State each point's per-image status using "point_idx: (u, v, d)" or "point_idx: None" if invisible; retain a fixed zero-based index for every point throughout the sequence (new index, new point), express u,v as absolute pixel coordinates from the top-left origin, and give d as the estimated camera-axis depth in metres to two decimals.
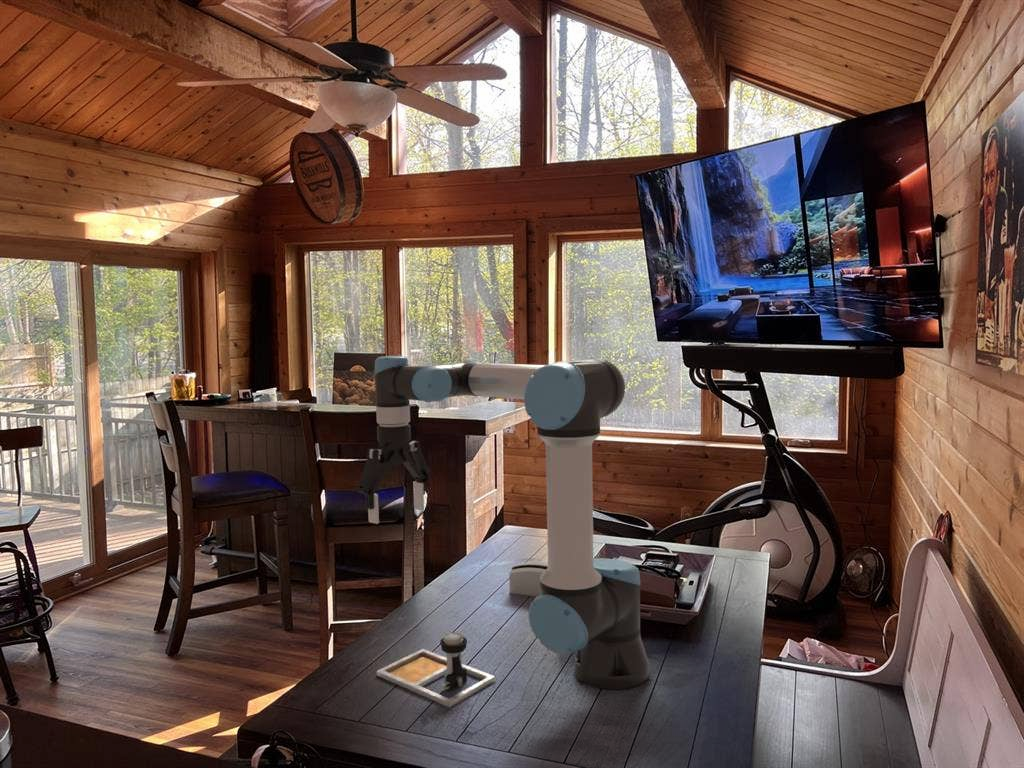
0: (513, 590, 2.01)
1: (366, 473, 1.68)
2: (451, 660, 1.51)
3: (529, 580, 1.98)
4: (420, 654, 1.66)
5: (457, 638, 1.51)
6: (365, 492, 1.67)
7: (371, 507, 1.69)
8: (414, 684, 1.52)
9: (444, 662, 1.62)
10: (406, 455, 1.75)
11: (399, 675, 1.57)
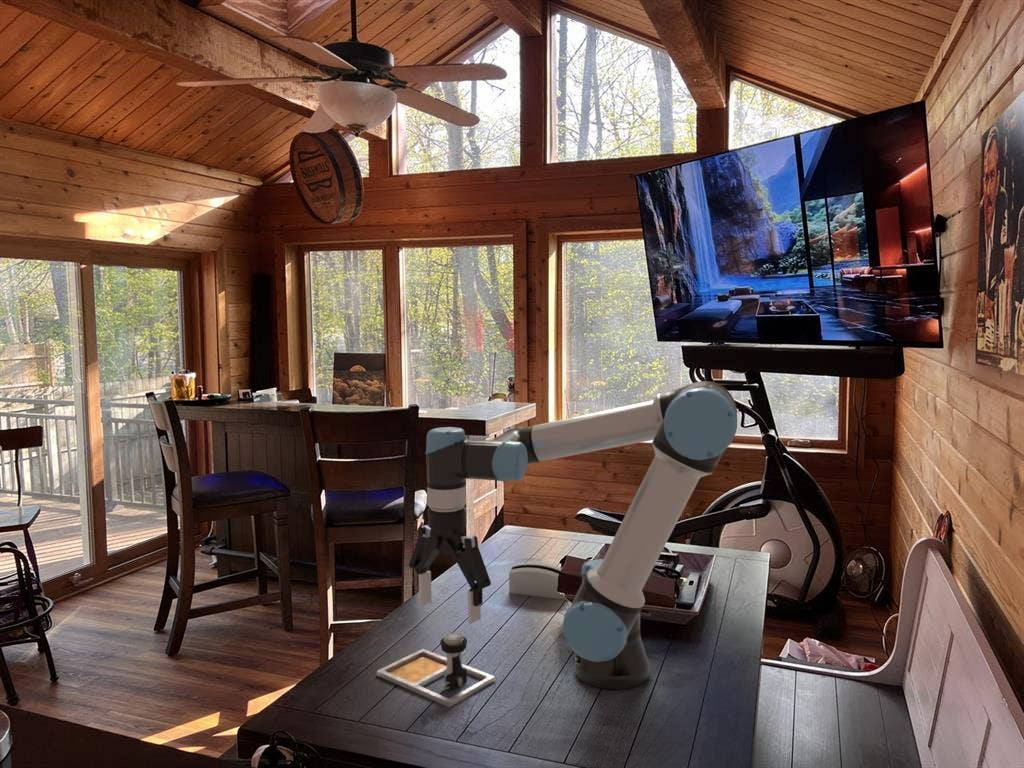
0: (513, 590, 2.01)
1: None
2: (451, 660, 1.51)
3: (528, 580, 1.98)
4: (420, 654, 1.66)
5: (457, 638, 1.51)
6: (410, 566, 1.56)
7: (418, 585, 1.56)
8: (414, 684, 1.52)
9: (444, 662, 1.62)
10: (448, 547, 1.47)
11: (399, 675, 1.57)
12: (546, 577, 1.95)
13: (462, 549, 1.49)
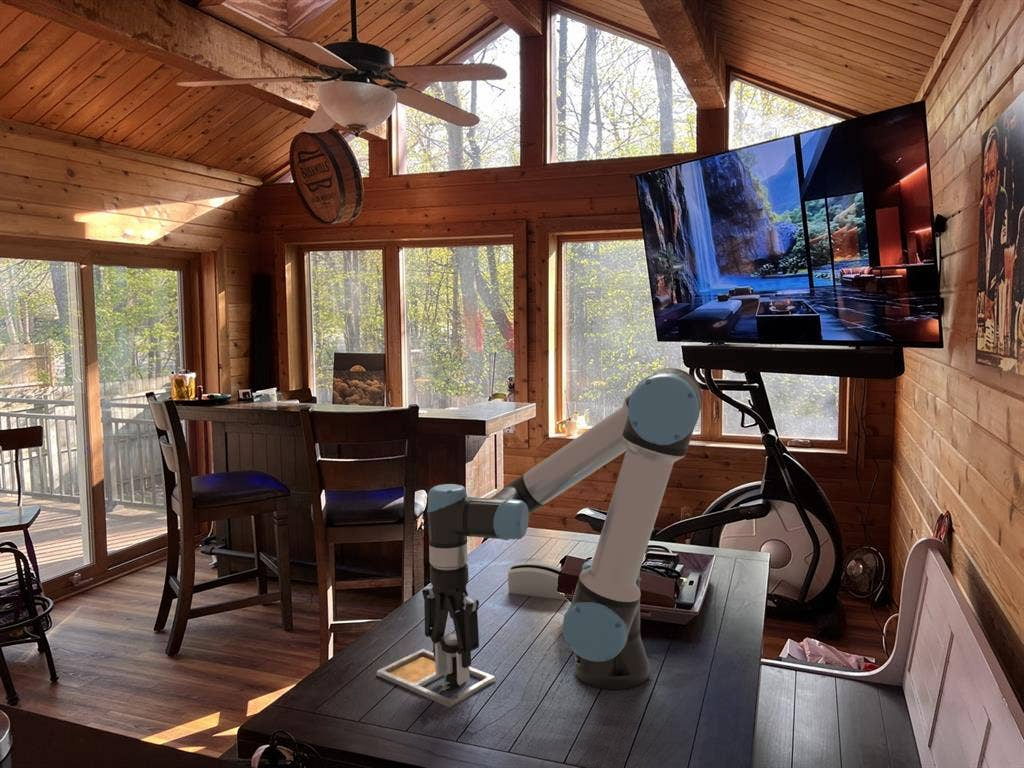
0: (512, 590, 2.01)
1: None
2: (451, 660, 1.51)
3: (527, 580, 1.98)
4: (420, 654, 1.66)
5: None
6: (426, 635, 1.55)
7: (434, 654, 1.54)
8: (414, 684, 1.52)
9: None
10: (450, 604, 1.48)
11: (399, 675, 1.57)
12: (545, 577, 1.95)
13: (461, 607, 1.51)
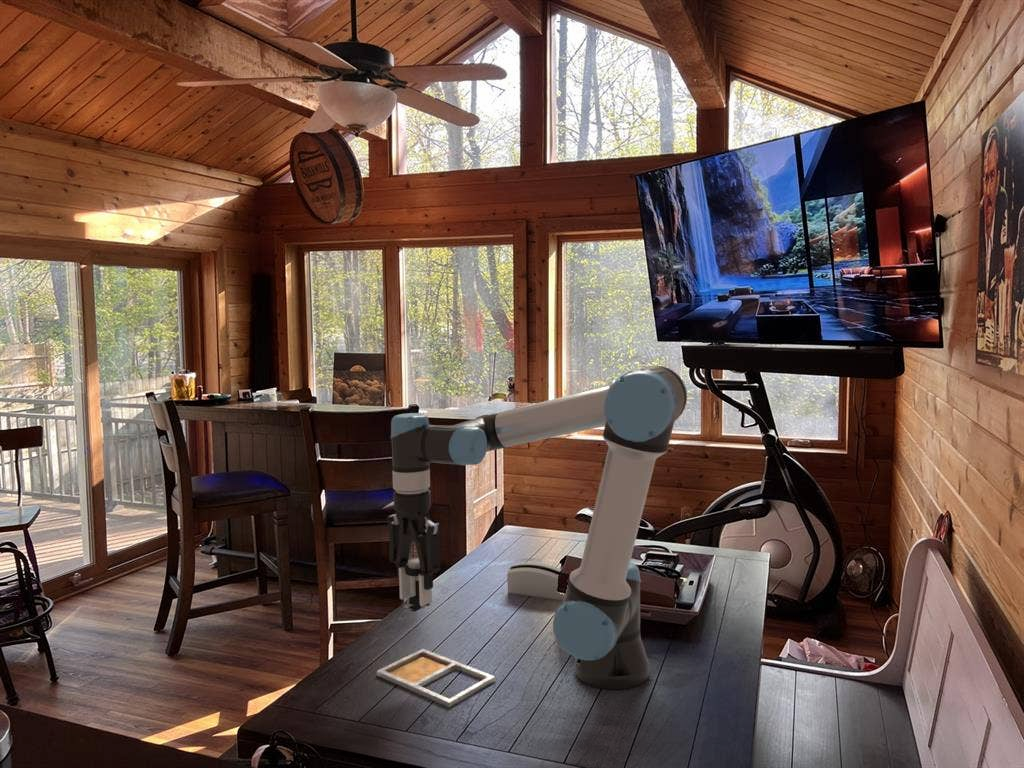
0: (511, 590, 2.01)
1: None
2: (414, 583, 1.57)
3: (526, 580, 1.98)
4: (420, 654, 1.66)
5: None
6: (391, 561, 1.60)
7: (399, 579, 1.59)
8: (414, 684, 1.52)
9: (444, 662, 1.62)
10: (413, 528, 1.54)
11: (399, 675, 1.57)
12: (544, 577, 1.95)
13: (424, 531, 1.56)
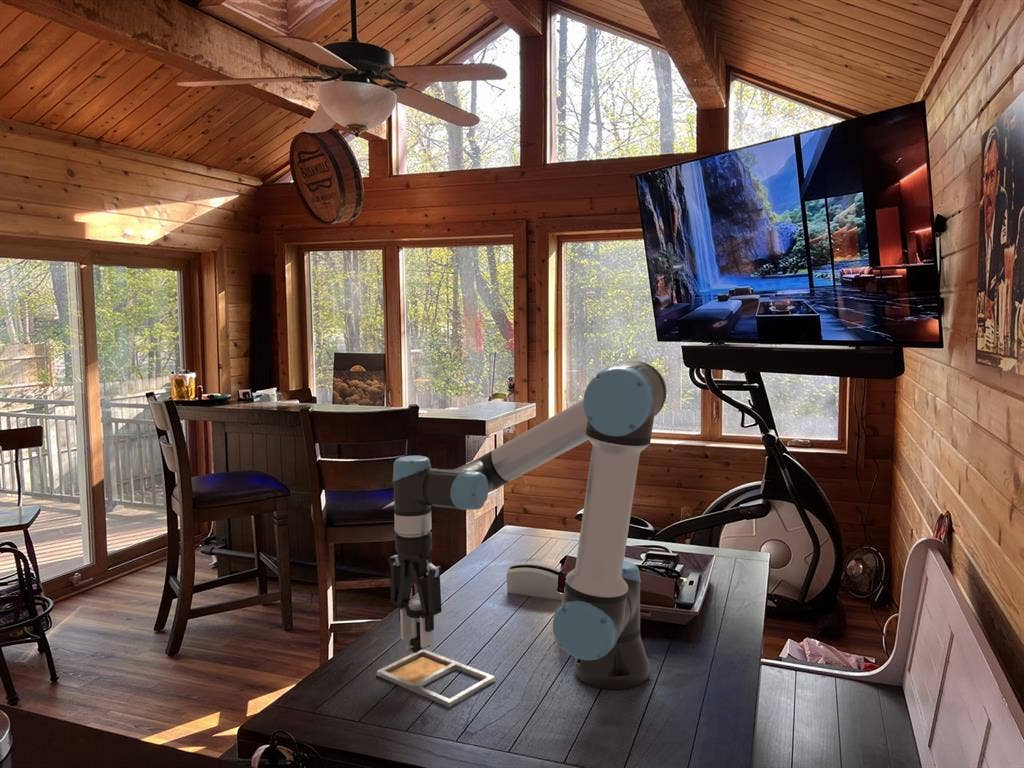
0: (510, 590, 2.01)
1: None
2: (415, 625, 1.57)
3: (526, 580, 1.98)
4: (420, 654, 1.66)
5: None
6: (392, 601, 1.61)
7: (400, 620, 1.60)
8: (414, 684, 1.52)
9: (444, 662, 1.62)
10: (414, 571, 1.54)
11: (399, 675, 1.57)
12: (543, 577, 1.95)
13: (425, 573, 1.57)
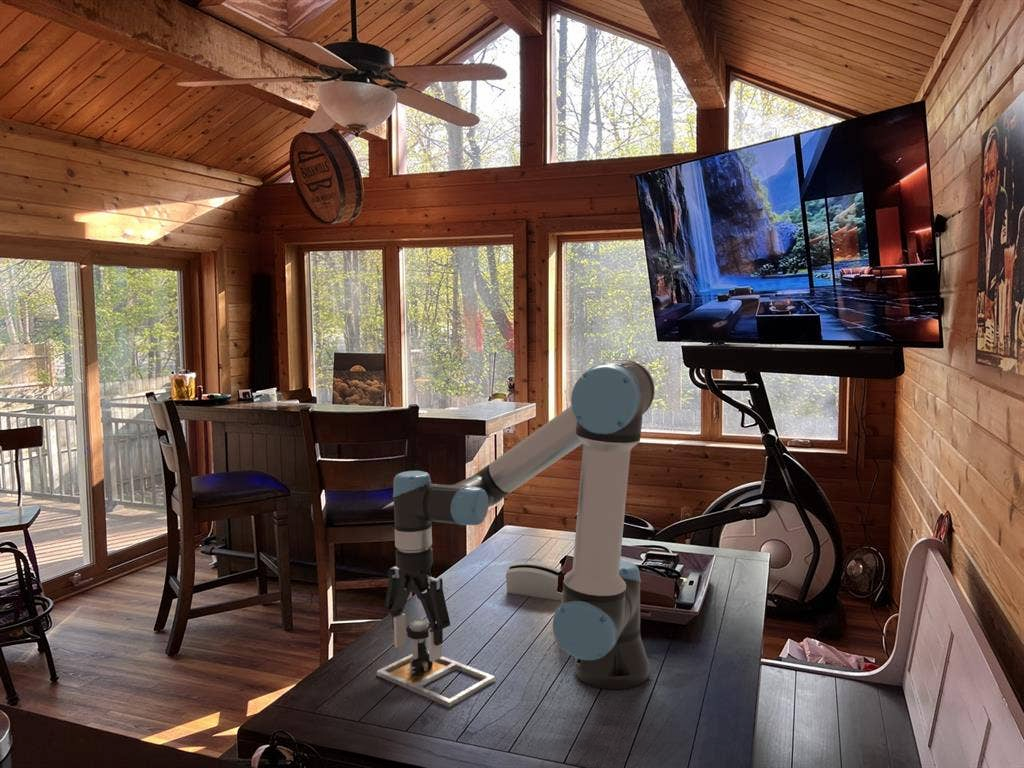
0: (510, 590, 2.02)
1: None
2: (417, 646, 1.58)
3: (525, 580, 1.98)
4: None
5: (422, 624, 1.58)
6: (385, 609, 1.62)
7: (394, 628, 1.62)
8: (414, 684, 1.52)
9: (444, 662, 1.62)
10: (415, 586, 1.55)
11: (399, 675, 1.57)
12: (542, 577, 1.95)
13: (427, 588, 1.57)
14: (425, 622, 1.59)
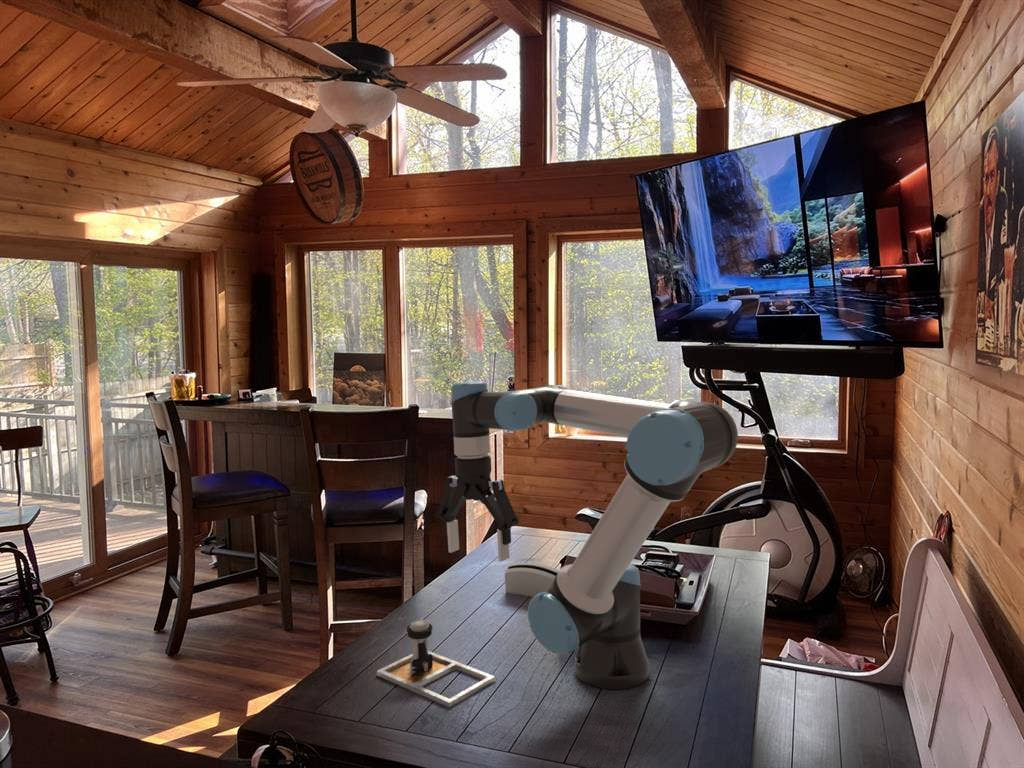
0: (509, 589, 2.02)
1: None
2: (417, 646, 1.58)
3: (523, 580, 1.98)
4: None
5: (422, 624, 1.58)
6: (437, 516, 1.66)
7: (446, 534, 1.65)
8: (414, 684, 1.52)
9: (444, 662, 1.62)
10: (476, 492, 1.58)
11: (399, 675, 1.57)
12: (540, 577, 1.95)
13: (489, 494, 1.60)
14: (426, 622, 1.59)
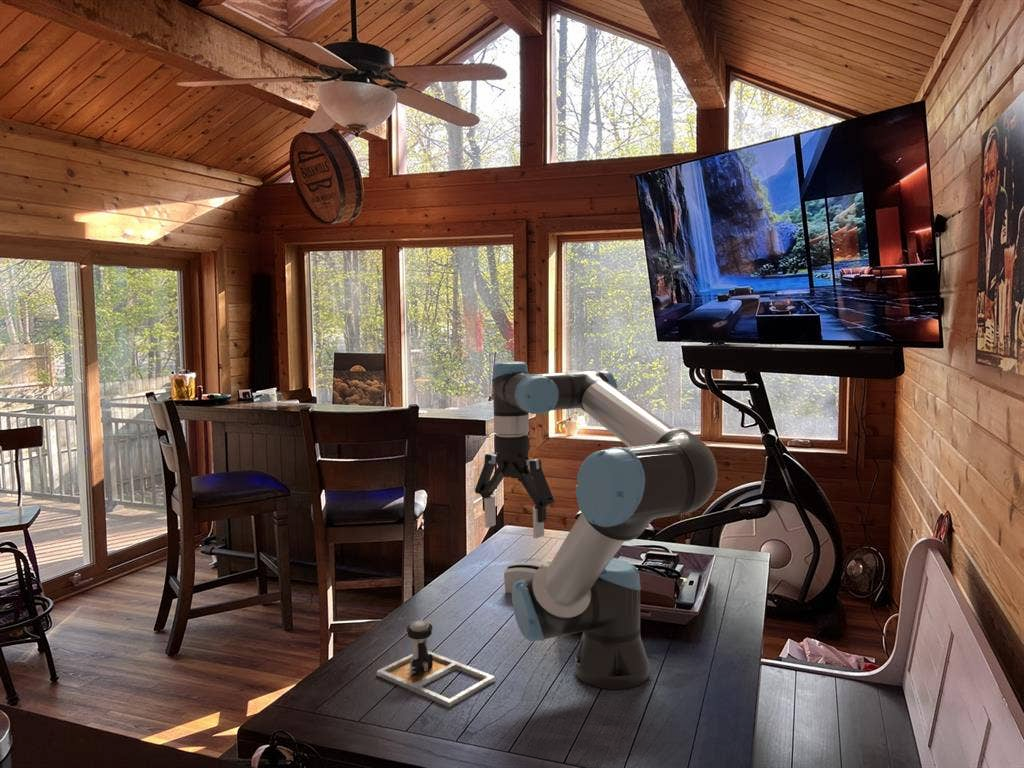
0: (508, 589, 2.02)
1: None
2: (417, 646, 1.58)
3: None
4: None
5: (422, 624, 1.58)
6: (476, 491, 1.70)
7: (484, 509, 1.70)
8: (414, 684, 1.52)
9: (444, 662, 1.62)
10: (514, 470, 1.61)
11: (399, 675, 1.57)
12: None
13: (526, 472, 1.63)
14: (426, 622, 1.59)
